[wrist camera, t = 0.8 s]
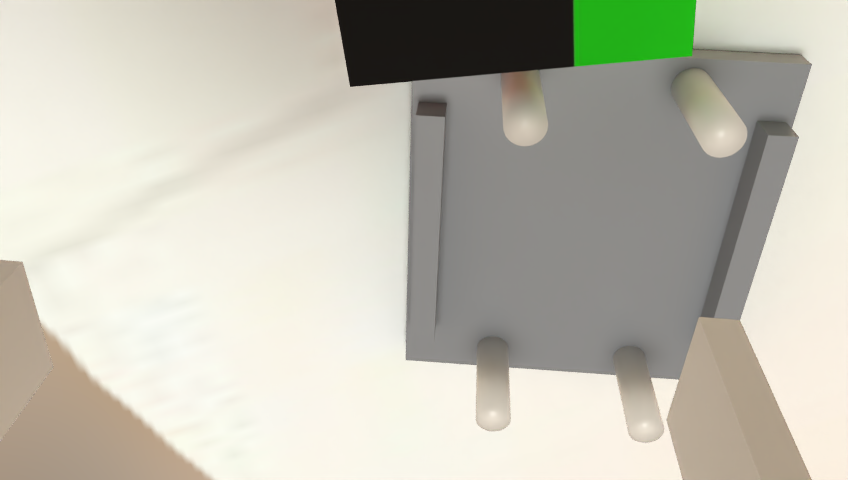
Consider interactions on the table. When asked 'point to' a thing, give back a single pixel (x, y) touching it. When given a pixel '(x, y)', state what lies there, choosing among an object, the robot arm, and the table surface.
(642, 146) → the tray
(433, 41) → the puzzle toy
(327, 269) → the table surface
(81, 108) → the table surface
